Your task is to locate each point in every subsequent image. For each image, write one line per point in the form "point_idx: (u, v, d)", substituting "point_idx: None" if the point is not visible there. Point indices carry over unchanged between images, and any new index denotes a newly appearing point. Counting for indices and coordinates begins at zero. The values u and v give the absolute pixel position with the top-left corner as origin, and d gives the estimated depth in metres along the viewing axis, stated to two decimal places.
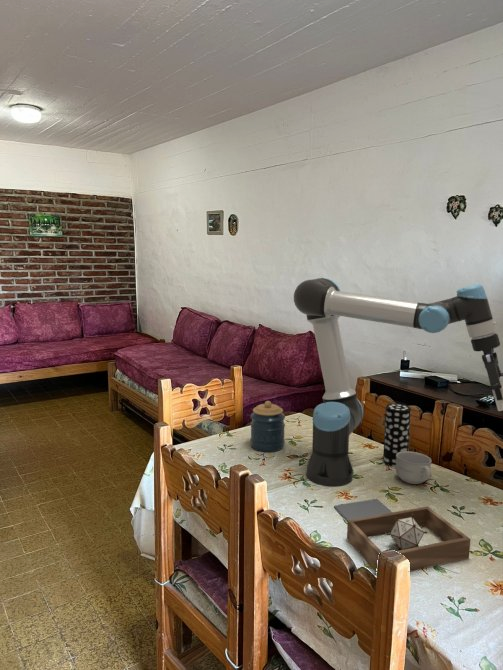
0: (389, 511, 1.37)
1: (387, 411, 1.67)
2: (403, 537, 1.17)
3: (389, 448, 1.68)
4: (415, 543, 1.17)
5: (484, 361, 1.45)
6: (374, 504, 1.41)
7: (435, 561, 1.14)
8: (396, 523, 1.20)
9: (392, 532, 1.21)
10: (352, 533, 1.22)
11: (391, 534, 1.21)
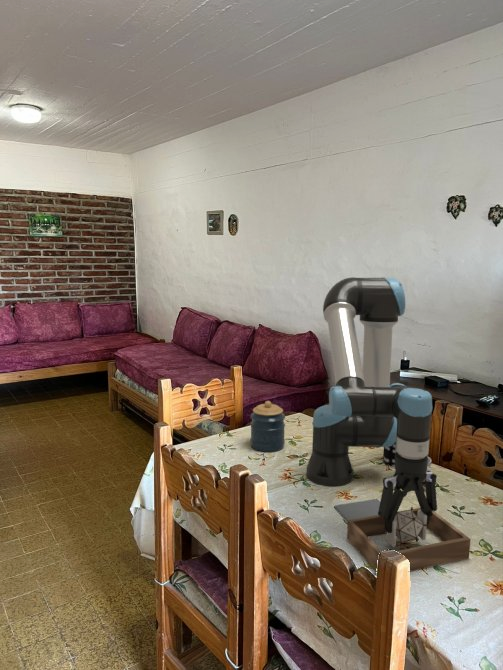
0: None
1: None
2: (402, 530, 1.18)
3: (389, 448, 1.68)
4: (414, 535, 1.17)
5: None
6: (374, 504, 1.41)
7: (435, 561, 1.14)
8: (396, 516, 1.20)
9: None
10: (352, 533, 1.22)
11: None
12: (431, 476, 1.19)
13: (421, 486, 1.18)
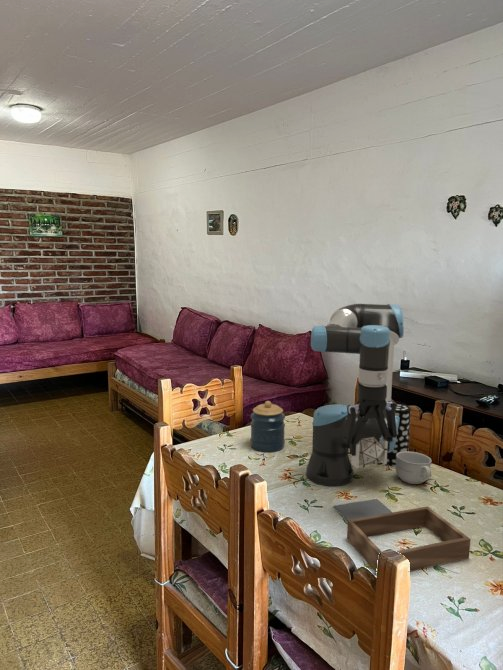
0: (389, 511, 1.37)
1: None
2: (365, 452, 1.31)
3: None
4: (375, 457, 1.30)
5: None
6: (374, 504, 1.41)
7: (435, 561, 1.14)
8: (359, 441, 1.34)
9: None
10: (352, 533, 1.22)
11: None
12: (391, 405, 1.33)
13: (381, 413, 1.31)
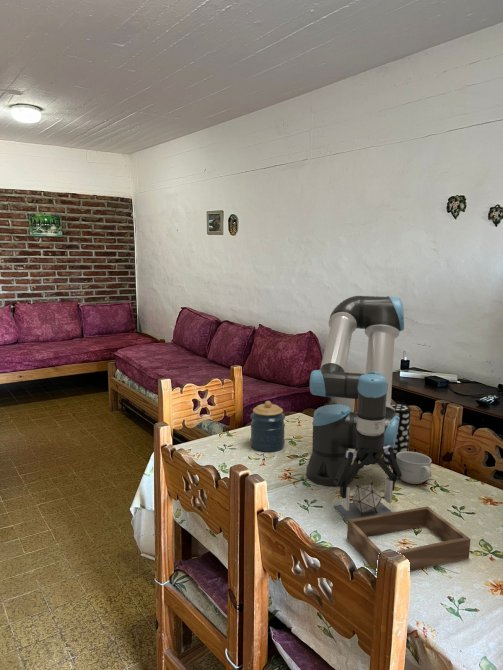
0: (389, 511, 1.37)
1: None
2: (362, 501, 1.33)
3: None
4: (373, 506, 1.33)
5: None
6: None
7: (435, 561, 1.14)
8: (357, 489, 1.36)
9: (354, 498, 1.36)
10: (352, 533, 1.22)
11: (353, 499, 1.36)
12: (388, 449, 1.35)
13: (380, 459, 1.33)
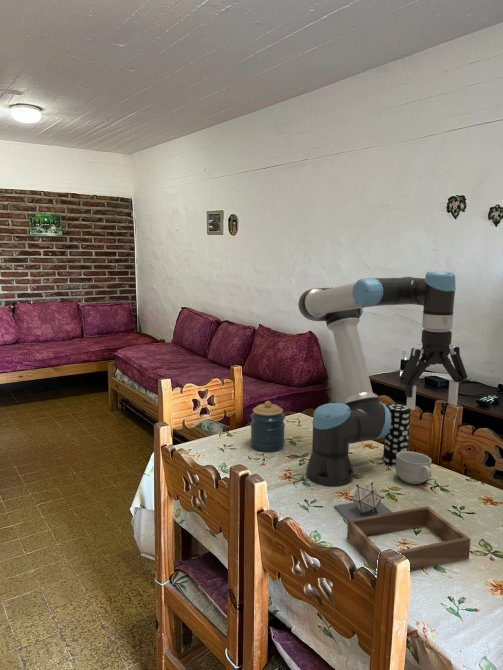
0: (389, 511, 1.37)
1: None
2: (362, 501, 1.33)
3: (389, 448, 1.68)
4: (373, 506, 1.33)
5: None
6: None
7: (435, 561, 1.14)
8: (357, 489, 1.36)
9: (354, 498, 1.36)
10: (352, 533, 1.22)
11: (353, 499, 1.36)
12: (454, 349, 1.33)
13: (447, 358, 1.31)
